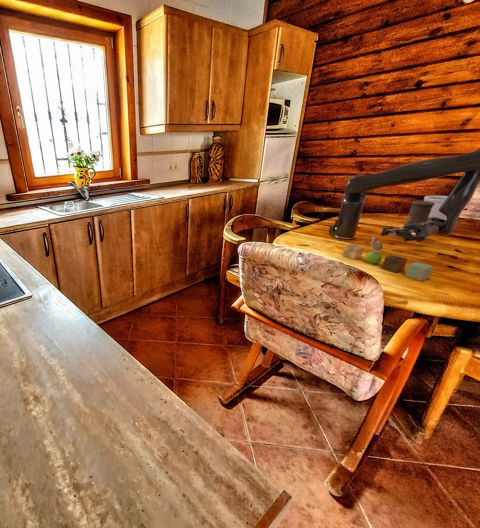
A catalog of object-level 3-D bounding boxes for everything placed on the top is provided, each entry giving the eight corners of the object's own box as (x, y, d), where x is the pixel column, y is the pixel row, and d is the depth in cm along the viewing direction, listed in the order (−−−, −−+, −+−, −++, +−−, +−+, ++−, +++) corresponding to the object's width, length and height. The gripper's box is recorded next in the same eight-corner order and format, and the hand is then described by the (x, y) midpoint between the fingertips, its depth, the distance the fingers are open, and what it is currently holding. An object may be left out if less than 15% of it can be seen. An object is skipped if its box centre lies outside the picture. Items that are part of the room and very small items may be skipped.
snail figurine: (372, 259, 124) (380, 234, 119) (383, 265, 118) (392, 238, 113) (359, 260, 124) (367, 234, 119) (369, 265, 118) (378, 239, 114)
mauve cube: (342, 255, 129) (345, 245, 127) (349, 254, 131) (352, 244, 129) (353, 259, 125) (356, 249, 123) (361, 257, 127) (364, 247, 125)
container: (420, 234, 151) (432, 201, 144) (424, 238, 144) (438, 204, 137) (398, 232, 156) (409, 200, 149) (401, 236, 149) (413, 203, 142)
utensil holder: (427, 224, 167) (438, 194, 160) (458, 230, 153) (472, 198, 146) (406, 226, 165) (417, 196, 158) (436, 233, 151) (449, 201, 144)
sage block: (404, 275, 109) (409, 264, 107) (412, 273, 110) (417, 261, 108) (420, 280, 104) (425, 268, 102) (428, 278, 106) (433, 266, 104)
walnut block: (381, 268, 115) (385, 257, 113) (389, 266, 117) (393, 255, 115) (395, 272, 111) (399, 261, 109) (403, 270, 113) (407, 259, 111)
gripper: (400, 219, 130) (377, 224, 125) (440, 226, 117) (417, 232, 112) (395, 234, 133) (372, 239, 128) (433, 243, 120) (410, 249, 115)
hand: (393, 236), depth 120 cm, fingers open, 8 cm apart
